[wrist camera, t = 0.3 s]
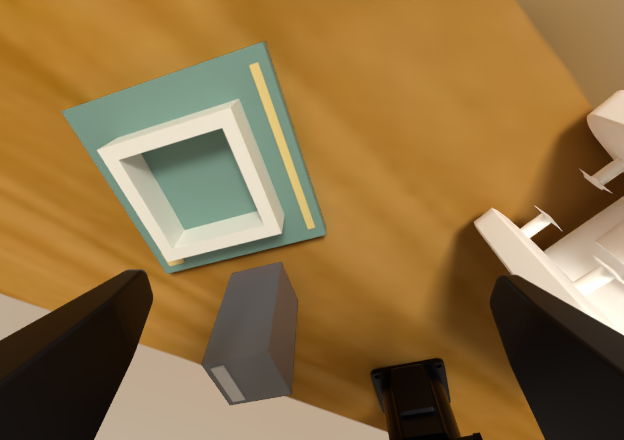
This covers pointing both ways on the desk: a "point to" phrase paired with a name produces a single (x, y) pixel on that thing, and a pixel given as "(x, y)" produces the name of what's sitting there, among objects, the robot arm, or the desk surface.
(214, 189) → the board
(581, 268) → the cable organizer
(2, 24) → the desk surface
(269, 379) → the plug
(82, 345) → the robot arm
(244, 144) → the socket
